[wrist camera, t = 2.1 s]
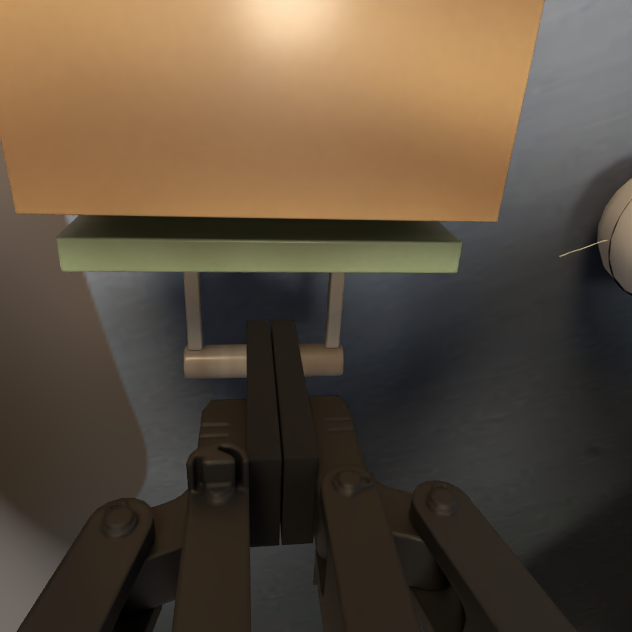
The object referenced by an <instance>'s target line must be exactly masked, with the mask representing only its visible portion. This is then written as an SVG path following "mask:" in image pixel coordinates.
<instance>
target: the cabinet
mask: <svg viewBox="0 0 632 632" xmlns="http://www.w3.org/2000/svg"><path fill="white" fill-rule="evenodd" d="M544 1H545V0H0V139H1V144H2V149H3V154H4V158H5V163H6V168H7V173H8V177H9V182H10V187H11V191H12V196H13V200H14V205H15V210H16V213H17V214H51V215H109V216H166V217H224V218H282V219H340V220H398V221H455V222H497V220H498V215H499V210H500V206H501V201H502V196H503V192H504V187H505V182H506V178H507V173H508V169H509V164H510V159H511V155H512V150H513V145H514V141H515V136H516V131H517V127H518V122H519V117H520V113H521V108H522V104H523V99H524V94H525V90H526V85H527V80H528V76H529V71H530V66H531V62H532V57H533V52H534V48H535V43H536V38H537V34H538V29H539V25H540V20H541V15H542V11H543V6H544Z"/></svg>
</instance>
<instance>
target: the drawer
mask: <svg viewBox="0 0 632 632" xmlns="http://www.w3.org/2000/svg"><path fill="white" fill-rule="evenodd" d="M56 243H57V249H58V254H59V260H60V265H61V270H62V271H64V272H183V277H184V292H185V307H186V322H187V336H188V345H186V346H185V349H184V360H183V365H184V376H185V378H186V379H211V378H247V354H246V344H224V345H203V328H202V309H201V290H200V272H311V273H329V282H328V296H327V311H326V325H325V340H324V342H325V343H299V348H300V354H301V359H302V365H303V370H304V376H340V375H342V372H343V367H344V354H343V348H342V345H341V344H340V343H339V340H340V328H341V316H342V304H343V292H344V280H345V273H457V270H458V264H459V259H460V254H461V248H462V242H461V241H460V240H459V239H458V238H457V237H455V236H454V235H453V234H452V233H451V232H450V231H449V230H447V229H446V228H445V227H444V226H443V225H442V224H441V223H439V222H438V221H398V220H340V219H282V218H224V217H166V216H109V215H79V216H78V217H77V218H76V219H75V220H74V221H73V222H72V223H71V224H70V225H69V226H68V227H66V228H65V229H64V230H63V231H62V232H61V233H60V234H59V235H58V236H57V237H56Z"/></svg>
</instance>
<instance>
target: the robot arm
mask: <svg viewBox="0 0 632 632" xmlns="http://www.w3.org/2000/svg"><path fill="white" fill-rule="evenodd" d="M246 354H247V399H228V400H211V401H210V402H209V403H208V405H207V406H206V407H205V409H204V410H203V411H202V417H201V427H200V433H199V442H198V448H197V449H196V450H195V451H194V452H193V453H192V454H191V455H190V456H189V458H188V461H187V463H186V466H187V479H188V489H187V490H186V491H185V492H184V493H183V494H182V495H181V496H179V497H178V498H176V499H174V500H172V501H170V502H167V503H165V504H161V505H158V506H155V507H152V508H151V507H150V506H149V505H148V504H147V503H145V502H144V501H142V500H139V499H136V498H121V499H117V500H114V501H111V502H108V503H106V504H105V505H103V506H101V507H100V508H98V509H97V510H96V511H95V512H94V513H93V514H92V515H91V517H90V518H89V519H88V521H87V522H86V524H85V525H84V527H83V528H82V530H81V532H80V533H79V535H78V536H77V538H76V539H75V541H74V543H73V544H72V546H71V547H70V549H69V550H68V552H67V554H66V555H65V557H64V558H63V560H62V562H61V563H60V565H59V566H58V568H57V569H56V571H55V572H54V574H53V575H52V577H51V579H50V580H49V582H48V583H47V585H46V586H45V588H44V589H43V591H42V593H41V594H40V596H39V597H38V599H37V600H36V602H35V604H34V605H33V607H32V608H31V610H30V611H29V613H28V615H27V616H26V618H25V619H24V621H23V622H22V624H21V625H20V627H19V629H18V630H17V632H152V631H153V629H154V626H155V624H156V621H157V619H158V616H159V614H160V611H161V609H162V604H165V603H167V602H170V601H173V600H175V608H174V616H173V624H172V632H251V591H250V547H260V546H275V545H279V534H280V526H281V539H282V545H290V544H305V543H313V536H314V537H315V544H316V554H315V568H314V581H313V585H316V584H318V592H319V600H320V608H321V616H322V623H323V631H324V632H422V631H421V628H420V624H421V626H422V628H423V630H424V631H425V632H577V631H576V629H575V628H574V627H573V626H572V624H571V623H570V622H569V621H568V619H567V618H566V617H565V616H564V615H563V613H562V612H561V611H560V610H559V608H558V607H557V606H556V605H555V603H554V602H553V601H552V600H551V598H550V597H549V596H548V595H547V594H546V592H545V591H544V590H543V589H542V587H541V586H540V585H539V584H538V582H537V581H536V580H535V579H534V578H533V576H532V575H531V574H530V573H529V571H528V570H527V569H526V568H525V566H524V565H523V564H522V563H521V561H520V560H519V559H518V558H517V557H516V555H515V554H514V553H513V552H512V550H511V549H510V548H509V547H508V545H507V544H506V543H505V542H504V541H503V539H502V538H501V537H500V536H499V534H498V533H497V532H496V531H495V529H494V528H493V527H492V526H491V525H490V523H489V522H488V521H487V520H486V518H485V517H484V516H483V515H482V513H481V512H480V511H479V510H478V508H477V507H476V506H475V505H474V504H473V502H472V501H471V500H470V499H469V497H468V496H467V495H466V494H465V493H464V492H463V491H461V490H460V489H459V488H458V487H456V486H454V485H452V484H450V483H447V482H442V481H426V482H424V483H422V484H420V485H418V486H417V487H416V489H415V490H414V491H413V493H410V492H405V491H400V490H395V489H392V488H389V487H386V486H384V485H382V484H380V483H379V482H377V481H376V479H375V477H374V475H373V474H372V473H371V472H369V471H368V470H367V469H366V466H365V463H364V460H363V456H362V453H361V449H360V446H359V442H358V439H357V435H356V432H355V430H354V425H353V421H352V418H351V415H350V411H349V408H348V405H347V404H346V403H345V402H344V401H343V400H342V399H341V398H340V397H339V396H338V395H327V396H308V392H307V387H306V381H305V376H304V370H303V365H302V359H301V354H300V348H299V343H298V337H297V332H296V326H295V321H294V320H272V325H271V331H270V320H252V321H246ZM419 622H420V624H419Z"/></svg>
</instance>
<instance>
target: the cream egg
mask: <svg viewBox="0 0 632 632" xmlns="http://www.w3.org/2000/svg"><path fill="white" fill-rule="evenodd" d="M597 243H598V246H599V251H600V254H601V258H602V262H603V265H604V268H605V269H606V270H607V271H608V273H609V274H610V275H611V276H612V277H613V279H614V280H615V282H616V283H617V284H618V286H619V287H620V288H621V289H622V290H623V291H625V292H626V293H628V294H629V295H632V178H631V179H630V180H629V181H627V182H626V183H625V184H624V185H623V186H622V187H621V188H620V189H619V190H617V191H616V193H615V194H614V195H613V197H612V198H611V200H610V201H609V203H608V204H607V205H606V207H605V209H604V212H603V214H602V217H601V219H600V222H599V225H598V237H597ZM597 243H594V244H597ZM594 244H592V245H594ZM592 245H589V246H592ZM589 246H587V247H589ZM587 247H584V248H587ZM584 248H581V249H584ZM581 249H578V250H581ZM578 250H575V251H578ZM575 251H572V252H575ZM572 252H569V253H572ZM569 253H566V254H569ZM566 254H564V255H566ZM564 255H561V256H564ZM561 256H559V257H561Z"/></svg>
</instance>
